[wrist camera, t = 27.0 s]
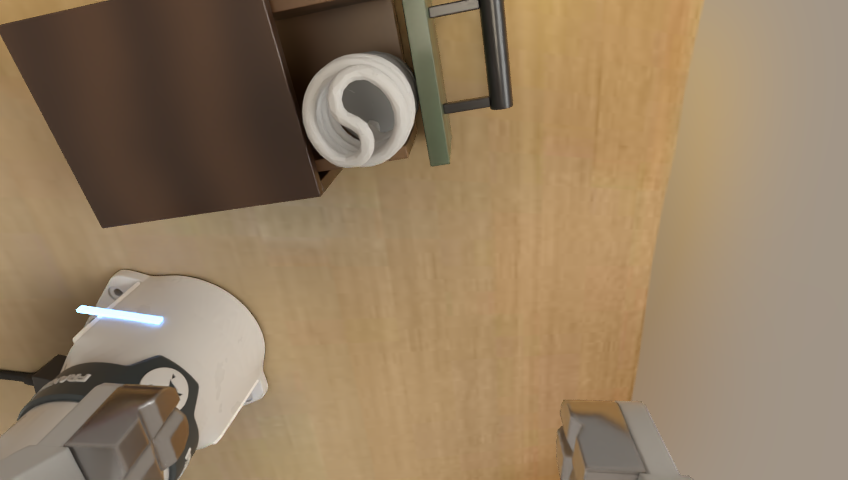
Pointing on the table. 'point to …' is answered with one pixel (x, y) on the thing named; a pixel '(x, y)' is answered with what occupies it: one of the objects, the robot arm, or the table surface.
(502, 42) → the drawer
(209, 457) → the table surface
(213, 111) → the cabinet
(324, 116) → the light bulb
